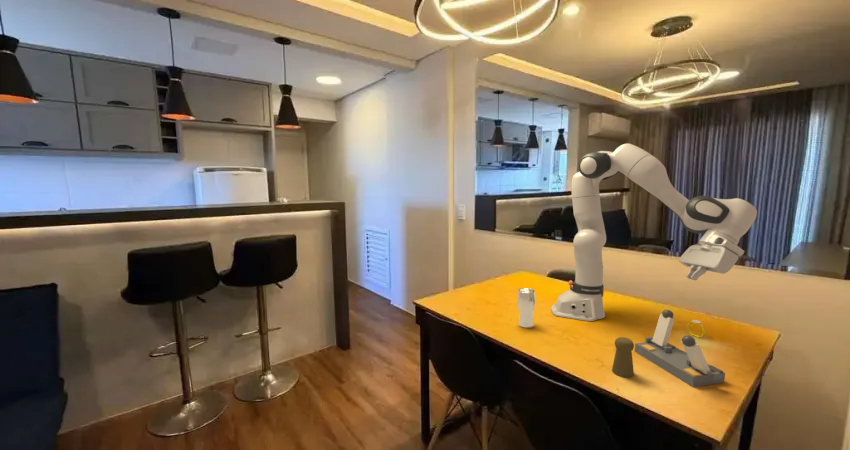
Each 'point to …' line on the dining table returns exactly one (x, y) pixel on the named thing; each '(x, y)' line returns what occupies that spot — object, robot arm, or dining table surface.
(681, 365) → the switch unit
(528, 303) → the beer glass
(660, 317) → the lever
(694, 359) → the lever
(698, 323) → the watch
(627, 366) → the brown pawn
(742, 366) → the dining table surface
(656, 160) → the robot arm
